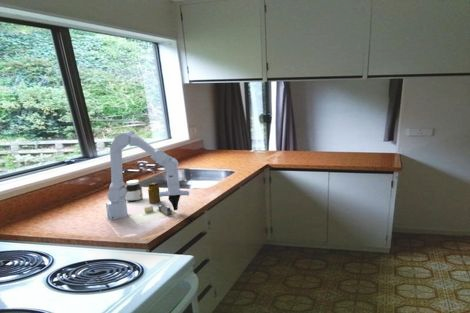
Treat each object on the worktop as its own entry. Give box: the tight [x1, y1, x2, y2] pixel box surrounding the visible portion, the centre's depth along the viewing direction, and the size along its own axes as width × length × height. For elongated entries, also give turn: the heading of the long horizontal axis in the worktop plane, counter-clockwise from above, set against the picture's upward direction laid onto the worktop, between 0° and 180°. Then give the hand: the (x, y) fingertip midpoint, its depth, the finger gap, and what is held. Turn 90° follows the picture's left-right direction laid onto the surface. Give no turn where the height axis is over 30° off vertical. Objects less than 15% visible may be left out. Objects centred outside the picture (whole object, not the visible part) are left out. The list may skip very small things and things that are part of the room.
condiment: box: [147, 181, 161, 205], centre depth 179 cm, size 7×8×12 cm
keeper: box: [143, 205, 154, 213], centre depth 164 cm, size 4×2×2 cm, turn 125°
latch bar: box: [157, 203, 173, 217], centre depth 162 cm, size 12×3×3 cm, turn 35°
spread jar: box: [125, 179, 143, 203], centre depth 188 cm, size 12×11×12 cm
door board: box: [129, 208, 178, 225], centre depth 160 cm, size 20×13×1 cm, turn 125°
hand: (175, 209), depth 160 cm, fingers closed
